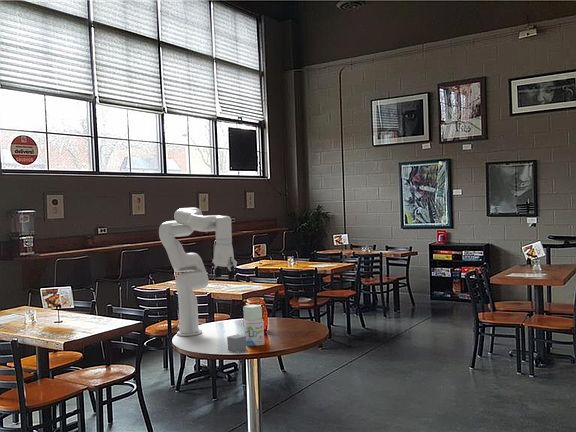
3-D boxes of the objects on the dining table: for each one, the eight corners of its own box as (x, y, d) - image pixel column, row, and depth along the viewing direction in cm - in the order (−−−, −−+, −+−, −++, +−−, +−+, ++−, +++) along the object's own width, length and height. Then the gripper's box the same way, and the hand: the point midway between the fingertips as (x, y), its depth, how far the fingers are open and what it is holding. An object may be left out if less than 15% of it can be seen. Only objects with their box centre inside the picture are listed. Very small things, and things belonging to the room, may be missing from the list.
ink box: (246, 346, 263) (245, 321, 263) (244, 342, 271) (243, 317, 271) (264, 344, 265) (263, 319, 264) (262, 340, 273) (260, 316, 273)
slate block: (227, 350, 258) (227, 336, 258) (238, 347, 262) (237, 334, 262) (236, 352, 254) (235, 338, 254) (246, 349, 258) (245, 336, 258)
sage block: (243, 319, 268) (243, 306, 268) (253, 316, 272) (253, 304, 272) (252, 320, 264) (251, 307, 263) (262, 318, 268) (261, 305, 268)
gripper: (206, 241, 275) (207, 277, 276) (229, 243, 263) (230, 280, 263) (218, 240, 280) (219, 275, 281) (241, 242, 268) (242, 278, 269)
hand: (224, 278), depth 272 cm, fingers open, 9 cm apart
